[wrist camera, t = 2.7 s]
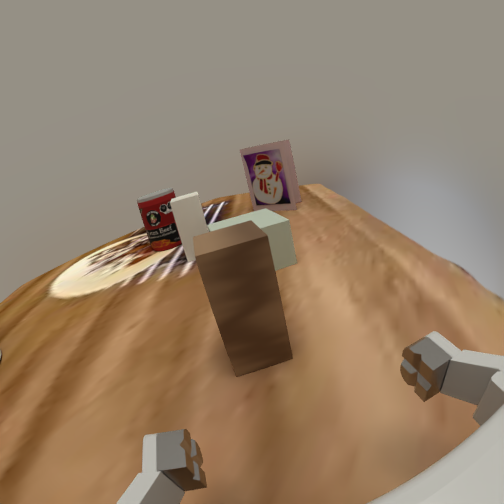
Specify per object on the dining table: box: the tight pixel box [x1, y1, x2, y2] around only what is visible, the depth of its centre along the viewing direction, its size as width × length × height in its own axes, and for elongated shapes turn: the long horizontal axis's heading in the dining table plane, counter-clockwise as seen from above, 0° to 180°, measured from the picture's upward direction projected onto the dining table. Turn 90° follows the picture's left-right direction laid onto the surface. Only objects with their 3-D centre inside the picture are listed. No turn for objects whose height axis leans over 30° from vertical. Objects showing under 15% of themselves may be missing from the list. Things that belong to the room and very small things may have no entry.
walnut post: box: [193, 220, 293, 377], centre depth 21 cm, size 4×4×10 cm
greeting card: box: [240, 140, 301, 211], centre depth 64 cm, size 11×7×15 cm, turn 54°
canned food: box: [137, 188, 182, 251], centre depth 57 cm, size 8×8×11 cm
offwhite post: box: [170, 192, 208, 262], centre depth 46 cm, size 4×4×10 cm
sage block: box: [207, 208, 297, 271], centre depth 39 cm, size 9×9×6 cm
